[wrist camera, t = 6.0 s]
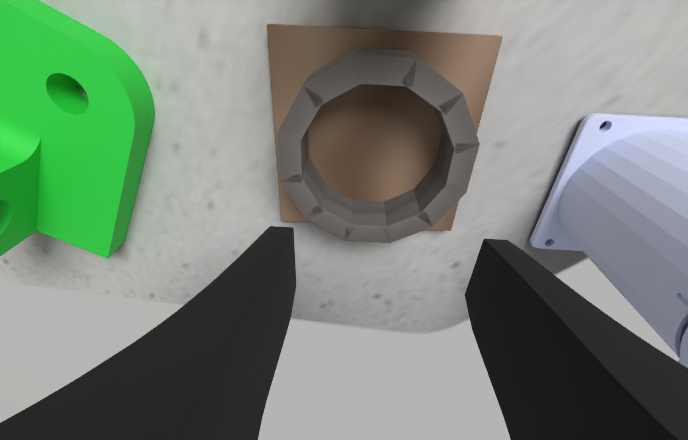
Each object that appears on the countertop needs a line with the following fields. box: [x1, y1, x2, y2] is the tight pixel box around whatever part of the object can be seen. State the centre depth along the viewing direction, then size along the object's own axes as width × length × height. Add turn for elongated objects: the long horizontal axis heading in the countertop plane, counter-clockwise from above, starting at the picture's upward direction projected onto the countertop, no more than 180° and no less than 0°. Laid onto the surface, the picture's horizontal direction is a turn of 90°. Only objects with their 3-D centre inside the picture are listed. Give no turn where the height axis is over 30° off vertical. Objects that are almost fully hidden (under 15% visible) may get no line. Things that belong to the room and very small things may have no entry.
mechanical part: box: [0, 0, 155, 258], centre depth 15 cm, size 12×6×8 cm, turn 150°
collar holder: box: [267, 24, 502, 243], centre depth 16 cm, size 10×10×3 cm
